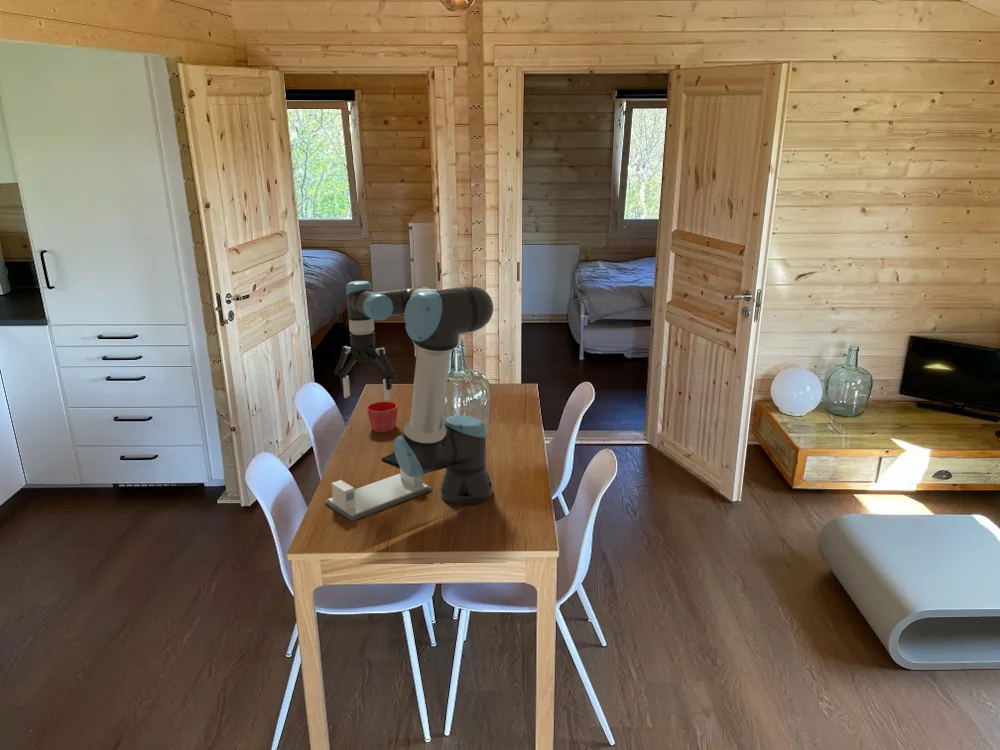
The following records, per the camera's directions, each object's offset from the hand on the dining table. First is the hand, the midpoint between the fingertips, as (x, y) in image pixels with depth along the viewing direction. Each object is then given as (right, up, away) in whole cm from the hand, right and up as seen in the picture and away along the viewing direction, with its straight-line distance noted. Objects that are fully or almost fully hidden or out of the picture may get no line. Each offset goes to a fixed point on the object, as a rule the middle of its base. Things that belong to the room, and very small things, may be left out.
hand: (367, 398), depth 227 cm
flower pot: (0, -13, +32) cm, 34 cm away
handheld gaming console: (+9, -22, +4) cm, 24 cm away
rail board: (+7, -28, -18) cm, 34 cm away
